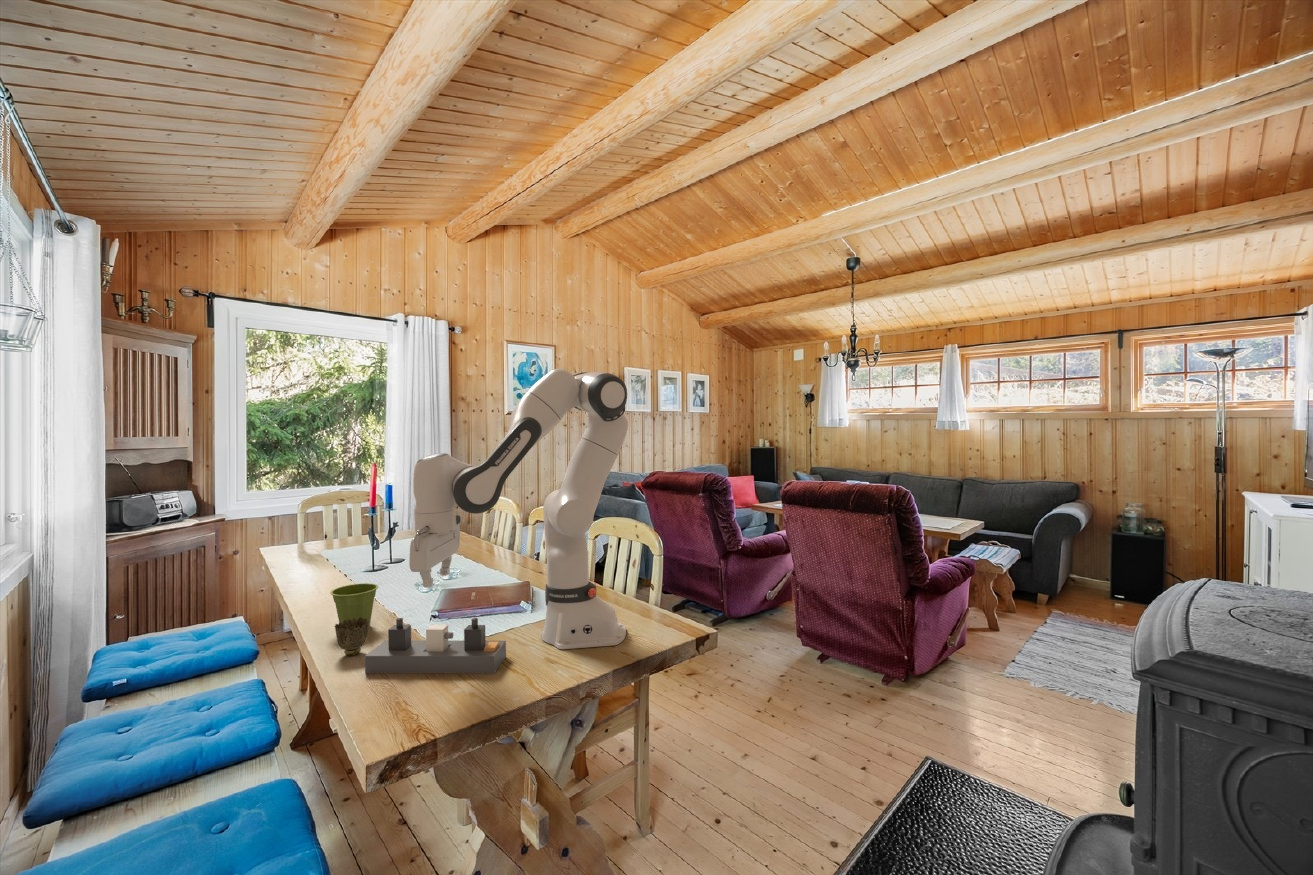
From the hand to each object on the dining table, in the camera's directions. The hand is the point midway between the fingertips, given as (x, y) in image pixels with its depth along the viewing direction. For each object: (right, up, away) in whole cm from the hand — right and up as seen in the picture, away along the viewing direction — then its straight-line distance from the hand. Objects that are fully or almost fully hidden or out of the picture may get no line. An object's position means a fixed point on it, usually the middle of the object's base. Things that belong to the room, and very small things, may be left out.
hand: (437, 580), depth 131 cm
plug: (0, -19, +1) cm, 19 cm away
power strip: (0, -20, 0) cm, 20 cm away
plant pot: (-33, -20, +24) cm, 45 cm away
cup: (-24, -20, +7) cm, 32 cm away
